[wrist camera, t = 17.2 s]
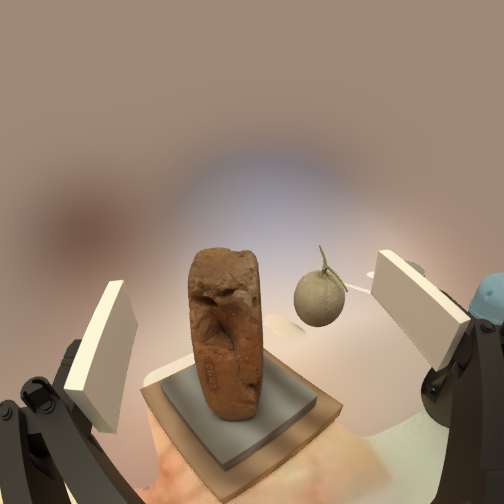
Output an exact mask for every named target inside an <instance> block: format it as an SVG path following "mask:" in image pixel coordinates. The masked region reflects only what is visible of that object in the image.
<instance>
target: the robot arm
mask: <svg viewBox="0 0 504 504" xmlns="http://www.w3.org/2000/svg"><path fill="white" fill-rule="evenodd" d="M371 294H372V296H373V297H374V298H375V299H376V300H377V301H378V302H379V303H380V305H382V307H383V308H384V309H385V310H386V311H387V312H388V314H389V315H390V316H391V317H392V318H393V320H394V321H395V322H396V323H397V324H398V325H399V327H400V328H401V329H402V330H403V331H404V333H405V334H406V335H407V336H408V337H409V339H410V340H411V341H412V342H413V343H414V345H415V346H416V347H417V348H418V350H419V351H420V352H421V353H422V354H423V356H424V357H425V358H426V360H427V361H428V362H429V363H430V365H431V366H432V368H431V369H430V370H429V372H428V373H427V375H426V377H425V379H424V381H423V383H422V387H421V397H422V401H423V404H424V407H425V409H426V410H427V412H428V413H429V414H430V416H431V417H432V418H433V419H435V420H436V421H437V422H439V423H440V424H442V425H444V426H447V427H450V429H449V436H448V443H447V450H446V455H445V461H444V466H443V471H442V475H441V480H440V484H439V488H438V491H437V494H436V497H435V498H434V500H433V501H432V502H431V504H504V273H495V274H491V275H488V276H487V277H485V278H484V279H483V280H482V281H481V282H480V284H479V286H478V288H477V291H476V293H475V295H474V298H473V299H472V300H471V302H470V305H469V311H468V312H467V311H466V310H465V309H463V308H462V307H461V306H460V305H459V304H457V302H456V301H454V300H452V298H451V297H450V296H449V295H448V294H446V293H445V292H444V291H442V290H440V289H438V288H436V287H435V286H434V285H432V284H431V283H430V282H429V281H428V280H427V279H425V278H424V277H423V276H422V275H421V274H420V273H418V272H417V271H416V270H415V269H413V268H412V267H411V266H410V265H408V264H407V263H406V262H405V261H404V260H402V259H401V258H400V257H398V256H397V255H396V254H395V253H393V252H392V251H391V250H382V251H379V252H378V257H377V263H376V269H375V274H374V280H373V285H372V290H371ZM137 326H138V323H137V320H136V318H135V315H134V312H133V309H132V306H131V302H130V299H129V296H128V293H127V289H126V286H125V283H124V280H119V281H110V282H109V284H108V286H107V288H106V290H105V292H104V294H103V296H102V298H101V300H100V302H99V304H98V306H97V308H96V311H95V313H94V315H93V317H92V319H91V321H90V324H89V326H88V328H87V330H86V333H85V335H84V337H83V340H74V341H73V343H72V344H71V345H70V346H69V347H68V348H67V350H66V353H65V355H64V359H63V360H62V362H61V366H60V367H59V369H58V372H57V374H56V377H55V379H54V382H53V384H52V386H51V384H50V383H49V382H48V380H47V379H46V378H44V377H34V378H31V379H30V380H28V381H27V382H26V383H25V384H24V386H23V387H22V390H21V393H20V394H21V399H22V401H23V402H24V403H25V404H26V405H27V406H28V407H23V408H19V406H18V405H17V404H16V403H15V402H14V401H12V400H5V401H3V402H1V403H0V489H1V494H2V499H3V504H71V502H70V499H69V496H68V493H67V490H66V487H65V484H64V482H65V483H66V485H67V487H68V489H69V490H70V492H71V494H72V495H73V497H74V499H75V500H76V502H77V503H78V504H146V503H145V502H144V501H143V500H142V499H141V498H140V497H139V496H138V494H137V493H136V492H135V491H134V490H133V489H132V487H131V486H130V485H129V484H128V483H127V481H126V480H125V479H124V478H123V476H122V475H121V474H120V473H119V471H118V470H117V469H116V467H115V466H114V465H113V463H112V462H111V461H110V459H109V458H108V456H107V455H106V454H105V452H104V451H103V449H102V448H101V446H100V445H99V443H98V442H97V440H96V439H95V437H94V436H93V435H92V434H91V429H92V425H93V426H94V427H95V428H96V429H97V430H98V432H102V433H113V434H116V433H117V426H118V420H119V413H120V407H121V401H122V395H123V390H124V385H125V380H126V375H127V370H128V365H129V360H130V356H131V351H132V347H133V343H134V338H135V334H136V330H137Z"/></svg>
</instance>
